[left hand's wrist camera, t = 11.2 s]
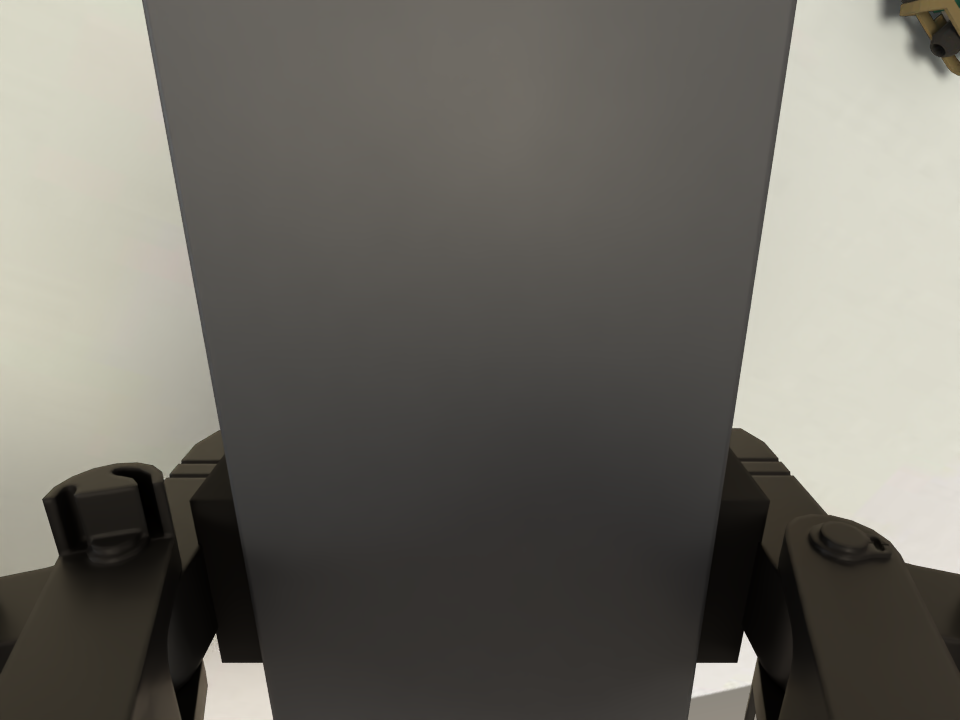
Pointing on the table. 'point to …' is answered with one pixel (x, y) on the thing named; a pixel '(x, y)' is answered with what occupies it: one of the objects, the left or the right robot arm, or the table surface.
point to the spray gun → (939, 27)
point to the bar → (474, 332)
